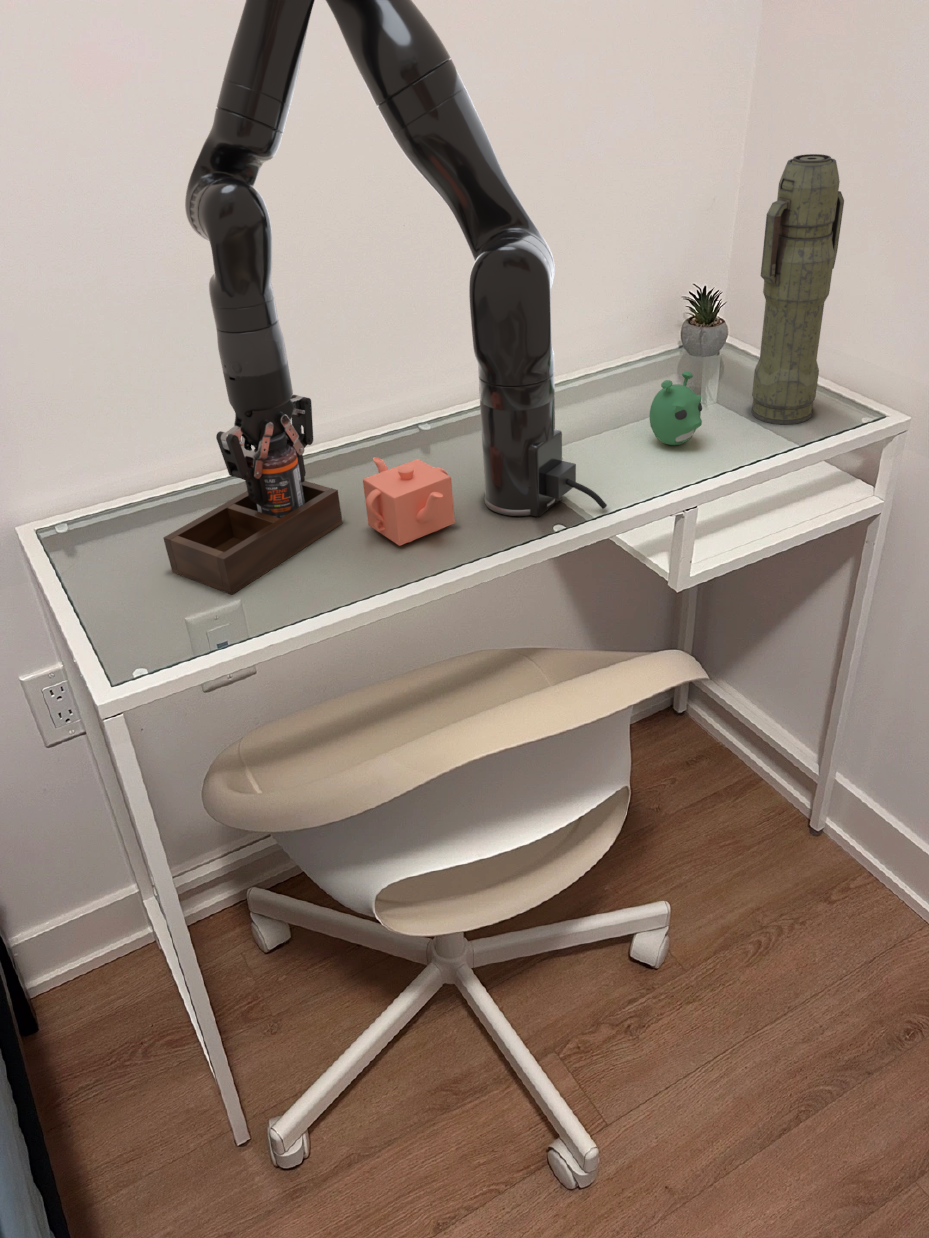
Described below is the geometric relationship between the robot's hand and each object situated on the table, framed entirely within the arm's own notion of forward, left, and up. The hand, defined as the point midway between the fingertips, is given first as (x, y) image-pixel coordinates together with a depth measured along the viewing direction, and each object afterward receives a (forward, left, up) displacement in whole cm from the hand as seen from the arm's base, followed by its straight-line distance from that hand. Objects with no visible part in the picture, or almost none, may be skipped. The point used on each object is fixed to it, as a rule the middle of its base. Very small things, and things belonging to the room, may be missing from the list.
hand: (279, 492), depth 125 cm
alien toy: (-32, -46, -6) cm, 57 cm away
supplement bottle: (0, 0, -4) cm, 4 cm away
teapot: (-14, -8, -6) cm, 17 cm away
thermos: (-41, -63, -6) cm, 76 cm away
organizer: (0, +5, -6) cm, 7 cm away
